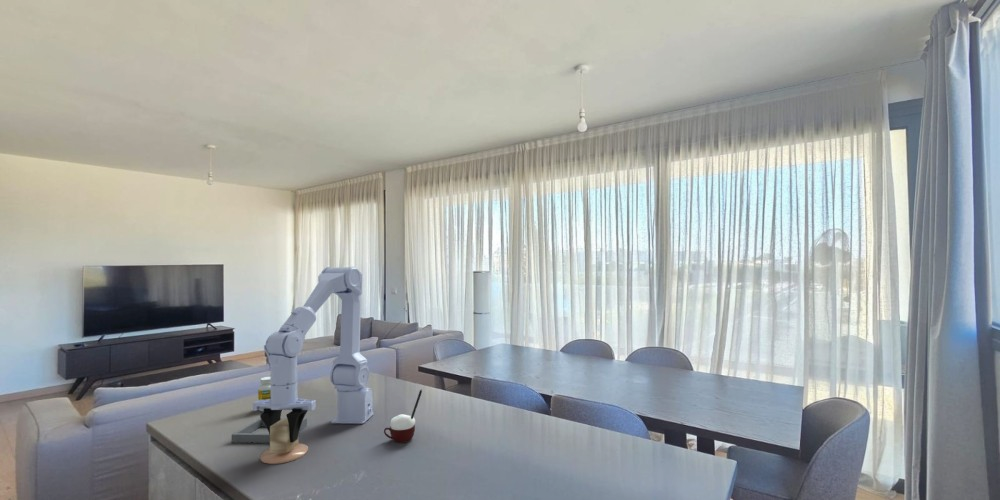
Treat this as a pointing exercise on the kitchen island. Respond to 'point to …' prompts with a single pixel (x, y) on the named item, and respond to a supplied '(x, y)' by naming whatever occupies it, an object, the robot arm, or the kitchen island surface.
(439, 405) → the kitchen island surface
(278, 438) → the block
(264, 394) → the supplement bottle
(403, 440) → the cocoa
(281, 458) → the saucer
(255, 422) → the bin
